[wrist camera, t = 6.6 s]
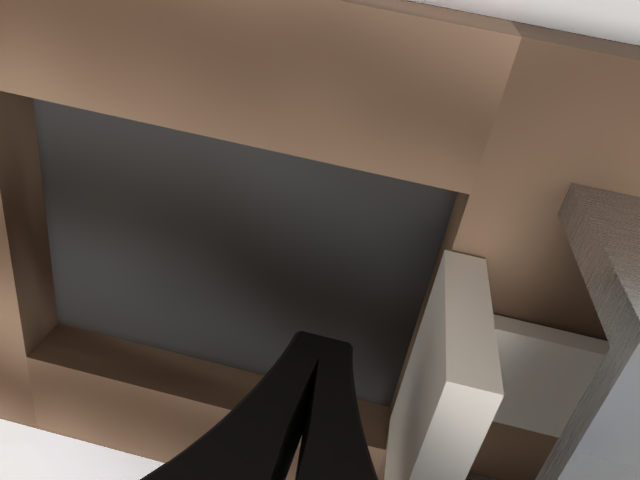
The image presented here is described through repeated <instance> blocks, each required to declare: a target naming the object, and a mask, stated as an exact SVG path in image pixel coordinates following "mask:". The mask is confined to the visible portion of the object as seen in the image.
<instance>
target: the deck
mask: <svg viewBox="0 0 640 480" xmlns="http://www.w3.org/2000/svg"><path fill="white" fill-rule="evenodd" d="M571 182H572V183H577V184H582V185H586V186H591V187H596V188H600V189H605V190H609V191H614V192H619V193H623V194H628V195H633V196H637V197H640V46H636V45H631V44H626V43H621V42H616V41H611V40H606V39H601V38H596V37H590V36H585V35H580V34H575V33H570V32H565V31H560V30H555V29H550V28H545V27H539V26H534V25H529V24H524V23H519V22H514V21H509V20H504V19H499V18H493V17H488V16H483V15H478V14H473V13H468V12H463V11H458V10H453V9H448V8H442V7H437V6H432V5H427V4H422V3H417V2H412V1H407V0H0V419H4V420H8V421H11V422H15V423H19V424H22V425H26V426H30V427H34V428H37V429H41V430H45V431H48V432H52V433H56V434H60V435H63V436H67V437H71V438H74V439H78V440H82V441H86V442H89V443H93V444H97V445H100V446H104V447H108V448H112V449H115V450H119V451H123V452H126V453H130V454H134V455H138V456H141V457H145V458H149V459H152V460H156V461H160V462H164V463H167V462H168V461H170V460H171V459H172V458H174V457H175V456H177V455H178V454H179V453H181V452H182V451H183V450H185V449H186V448H187V447H189V446H190V445H191V444H193V443H194V442H195V441H196V440H198V439H199V438H200V437H202V436H203V435H204V434H205V433H207V432H208V431H209V430H210V429H211V428H212V427H214V426H215V425H216V424H217V423H218V422H219V421H220V420H222V419H223V418H224V417H225V416H226V415H227V414H228V413H229V412H230V411H231V410H232V409H233V408H235V406H236V405H237V404H238V403H239V402H240V401H241V400H242V399H243V398H244V397H245V396H246V395H247V394H248V393H249V392H250V391H251V390H252V389H253V388H254V387H255V386H256V385H257V384H258V383H259V381H260V380H261V379H262V378H263V377H264V376H265V375H266V373H267V372H268V371H269V370H270V369H271V368H272V366H273V365H274V364H275V363H276V361H277V360H278V359H279V357H280V356H281V355H282V353H283V352H284V351H285V349H286V348H287V346H288V345H289V343H290V342H291V340H292V338H293V336H294V335H295V333H296V332H299V331H305V332H309V333H313V334H317V335H321V336H325V337H329V338H333V339H337V340H341V341H345V342H349V343H350V344H351V345H352V347H353V376H354V384H355V392H356V398H357V403H358V408H359V413H360V418H361V422H362V427H363V431H364V435H365V438H366V442H367V446H368V449H369V453H370V456H371V459H372V463H373V466H374V469H375V471H376V474H377V477H378V480H384V476H385V466H386V455H387V445H388V435H389V425H390V417H391V414H392V411H393V408H394V405H395V402H396V399H397V396H398V393H399V390H400V386H401V383H402V380H403V377H404V374H405V371H406V368H407V365H408V362H409V359H410V355H411V352H412V349H413V346H414V343H415V340H416V337H417V334H418V331H419V328H420V324H421V321H422V318H423V315H424V312H425V309H426V306H427V303H428V300H429V297H430V293H431V290H432V287H433V284H434V281H435V278H436V275H437V272H438V269H439V266H440V263H441V259H442V256H443V253H444V250H448V251H452V252H457V253H461V254H465V255H470V256H474V257H479V258H483V259H486V264H487V271H488V279H489V286H490V294H491V301H492V309H493V314H495V315H499V316H504V317H508V318H512V319H516V320H521V321H525V322H529V323H533V324H537V325H542V326H546V327H550V328H554V329H559V330H563V331H567V332H571V333H576V334H580V335H584V336H588V337H592V338H597V339H601V340H605V341H608V340H607V337H606V335H605V332H604V330H603V327H602V325H601V322H600V319H599V317H598V314H597V312H596V309H595V307H594V304H593V302H592V299H591V297H590V294H589V292H588V289H587V287H586V284H585V282H584V279H583V277H582V274H581V272H580V269H579V266H578V264H577V261H576V259H575V256H574V254H573V251H572V249H571V246H570V244H569V241H568V239H567V236H566V234H565V231H564V229H563V226H562V224H561V221H560V219H559V216H558V212H559V210H560V207H561V205H562V203H563V201H564V198H565V196H566V194H567V191H568V189H569V187H570V184H571ZM301 438H302V436H301ZM557 440H558V438H557V437H554V436H550V435H546V434H542V433H538V432H534V431H530V430H526V429H522V428H518V427H514V426H510V425H506V424H502V423H498V422H494V421H492V423H491V425H490V427H489V429H488V431H487V434H486V436H485V438H484V440H483V442H482V444H481V447H480V449H479V451H478V453H477V455H476V457H475V460H474V462H473V464H472V466H471V468H470V470H469V472H471V473H475V474H479V475H483V476H487V477H491V478H494V479H498V480H535V479H536V477H537V476H538V474H539V472H540V470H541V468H542V467H543V465H544V463H545V461H546V460H547V458H548V456H549V454H550V453H551V451H552V449H553V447H554V445H555V444H556V442H557ZM300 445H301V439H300V442H299V444H298V447H297V450H296V453H295V455H294V458H293V461H292V464H291V466H290V469H289V472H288V474H287V477H286V480H295V476H296V470H297V463H298V457H299V451H300Z"/></svg>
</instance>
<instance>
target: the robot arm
mask: <svg viewBox="0 0 640 480" xmlns="http://www.w3.org/2000/svg"><path fill="white" fill-rule="evenodd" d="M301 436H302V438H301ZM300 439H301V445H300V451H299V457H298V463H297V470H296V476H295V480H378V477H377V474H376V471H375V469H374V466H373V463H372V459H371V456H370V453H369V449H368V446H367V442H366V438H365V435H364V431H363V427H362V422H361V418H360V413H359V408H358V403H357V398H356V392H355V384H354V376H353V347H352V345H351V344H350V343H349V342H345V341H341V340H337V339H333V338H329V337H325V336H321V335H317V334H313V333H309V332H305V331H299V332H296V333H295V335H294V336H293V338H292V340H291V342H290V343H289V345H288V346H287V348H286V349H285V351H284V352H283V353H282V355H281V356H280V357H279V359H278V360H277V361H276V363H275V364H274V365H273V366H272V368H271V369H270V370H269V371H268V372H267V373H266V375H265V376H264V377H263V378H262V379H261V380H260V381H259V383H258V384H257V385H256V386H255V387H254V388H253V389H252V390H251V391H250V392H249V393H248V394H247V395H246V396H245V397H244V398H243V399H242V400H241V401H240V402H239V403H238V404H237V405H236V406H235V408H233V409H232V410H231V411H230V412H229V413H228V414H227V415H226V416H225V417H224V418H223V419H222V420H220V421H219V422H218V423H217V424H216V425H215V426H214V427H212V428H211V429H210V430H209V431H208V432H207V433H205V434H204V435H203V436H202V437H200V438H199V439H198V440H196V441H195V442H194V443H193V444H191V445H190V446H189V447H187V448H186V449H185V450H183V451H182V452H181V453H179V454H178V455H177V456H175V457H174V458H172V459H171V460H170V461H168V462H167V463H165V464H163V465H162V466H160V467H159V468H157V469H156V470H154V471H153V472H151V473H150V474H148V475H146V476H145V477H143V478H142V479H140V480H286V477H287V474H288V472H289V469H290V466H291V464H292V461H293V458H294V455H295V453H296V450H297V447H298V444H299V442H300Z"/></svg>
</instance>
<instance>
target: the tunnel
mask: <svg viewBox="0 0 640 480" xmlns="http://www.w3.org/2000/svg"><path fill="white" fill-rule="evenodd" d="M558 216H559V219H560V221H561V224H562V226H563V229H564V231H565V234H566V236H567V239H568V241H569V244H570V246H571V249H572V251H573V254H574V256H575V259H576V261H577V264H578V266H579V269H580V272H581V274H582V277H583V279H584V282H585V284H586V287H587V289H588V292H589V294H590V297H591V299H592V302H593V304H594V307H595V309H596V312H597V314H598V317H599V319H600V322H601V325H602V327H603V330H604V332H605V335H606V337H607V340H608V342H609V345H610V348H609V350H608V352H607V354H606V355H605V357H604V359H603V361H602V362H601V364H600V366H599V368H598V369H597V371H596V373H595V375H594V377H593V378H592V380H591V382H590V384H589V385H588V387H587V389H586V391H585V392H584V394H583V396H582V398H581V400H580V401H579V403H578V405H577V407H576V408H575V410H574V412H573V414H572V415H571V417H570V419H569V421H568V423H567V424H566V426H565V428H564V430H563V431H562V433H561V435H560V437H559V438H558V440H557V442H556V444H555V445H554V447H553V449H552V451H551V453H550V454H549V456H548V458H547V460H546V461H545V463H544V465H543V467H542V468H541V470H540V472H539V474H538V476H537V477H536V479H535V480H640V197H637V196H633V195H628V194H623V193H619V192H614V191H609V190H605V189H600V188H596V187H591V186H586V185H582V184H577V183H572V182H571V184H570V187H569V189H568V191H567V194H566V196H565V198H564V201H563V203H562V205H561V207H560V210H559V212H558ZM465 480H498V479H494V478H491V477H487V476H483V475H479V474H475V473H471V472H469V473H468V475H467V477H466V479H465Z"/></svg>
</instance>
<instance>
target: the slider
mask: <svg viewBox="0 0 640 480" xmlns="http://www.w3.org/2000/svg"><path fill="white" fill-rule="evenodd" d="M609 348H610V345H609V342H608V341H605V340H601V339H597V338H592V337H588V336H584V335H580V334H576V333H571V332H567V331H563V330H559V329H554V328H550V327H546V326H542V325H537V324H533V323H529V322H525V321H521V320H516V319H512V318H508V317H504V316H499V315H495V314H493V309H492V301H491V294H490V286H489V279H488V271H487V264H486V259H483V258H479V257H474V256H470V255H465V254H461V253H457V252H452V251H448V250H444V253H443V256H442V259H441V263H440V266H439V269H438V272H437V275H436V278H435V281H434V284H433V287H432V290H431V293H430V297H429V300H428V303H427V306H426V309H425V312H424V315H423V318H422V321H421V324H420V328H419V331H418V334H417V337H416V340H415V343H414V346H413V349H412V352H411V355H410V359H409V362H408V365H407V368H406V371H405V374H404V377H403V380H402V383H401V386H400V390H399V393H398V396H397V399H396V402H395V405H394V408H393V411H392V414H391V417H390V425H389V435H388V445H387V455H386V466H385V476H384V480H465V479H466V477H467V475H468V473H469V470H470V468H471V466H472V464H473V462H474V460H475V457H476V455H477V453H478V451H479V449H480V447H481V444H482V442H483V440H484V438H485V436H486V434H487V431H488V429H489V427H490V425H491V423H492V421H494V422H498V423H502V424H506V425H510V426H514V427H518V428H522V429H526V430H530V431H534V432H538V433H542V434H546V435H550V436H554V437H557V438H559V437H560V435H561V433H562V431H563V430H564V428H565V426H566V424H567V423H568V421H569V419H570V417H571V415H572V414H573V412H574V410H575V408H576V407H577V405H578V403H579V401H580V400H581V398H582V396H583V394H584V392H585V391H586V389H587V387H588V385H589V384H590V382H591V380H592V378H593V377H594V375H595V373H596V371H597V369H598V368H599V366H600V364H601V362H602V361H603V359H604V357H605V355H606V354H607V352H608V350H609Z"/></svg>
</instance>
